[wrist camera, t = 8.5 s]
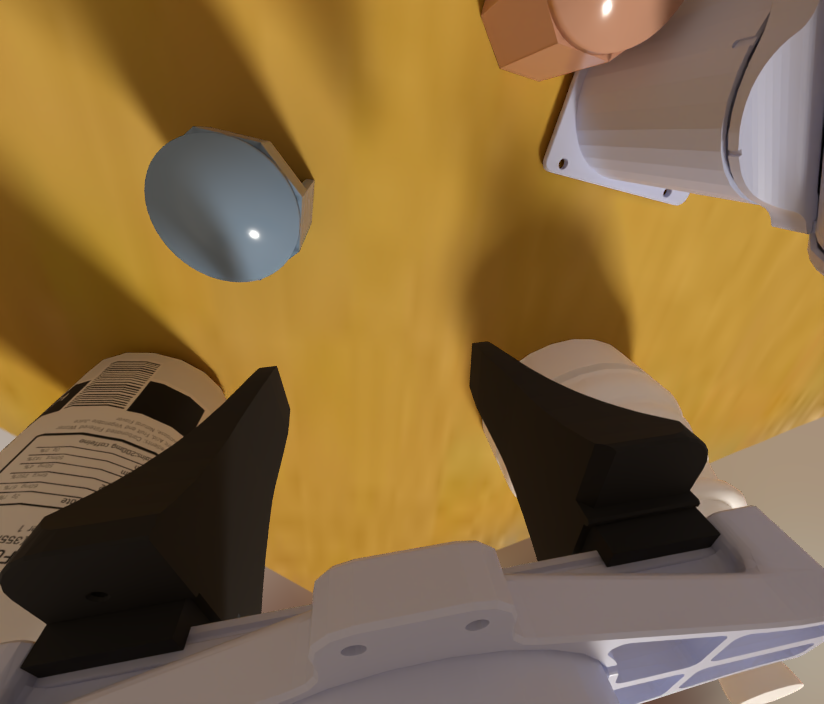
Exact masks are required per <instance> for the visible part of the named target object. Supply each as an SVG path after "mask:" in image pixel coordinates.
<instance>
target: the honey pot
mask: <svg viewBox="0 0 824 704" xmlns="http://www.w3.org/2000/svg"><path fill="white" fill-rule="evenodd" d="M519 362H521V363H523V364H524V365H526V366H528V367H529V368H531V369H533V370H534V371H536V372H538V373H540V374H541V375H543V376H545V377H547V378H549V379H551V380H553V381H555V382H557V383H559V384H561V385H563V386H565V387H568V388H570V389H572V390H574V391H577V392H579V393H582V394H584V395H587V396H589V397H592V398H595V399H598V400H601V401H603V402H606V403H609V404H613V405H616V406H619V407H623V408H626V409H630V410H633V411H637V412H641V413H645V414H649V415H654V416H658V417H663V418H668V419H672V420H677V421H680V422H681V423H682V424H683V425H684V426H685V427H687V428H688V429H689V430H690V431H691V432H692V433H693V431H692V429H691V427H690V425H689V423H688V422H687V420H686V419H685V418H684V417H683V415H682V411H681V409H680V407H679V405H678V403H677V401H676V399H675V398H674V396H673V395H672V394H671V393H670V392H669V391H668V390H666V389H665V388H664V387H663V386H661V385H660V384H659V383H658V382H657V381H655V380H654V379H653V378H652V377H651V376H649V375H648V374H647V373H646V372H644V371H643V370H642V369H641V368H639V367H638V366H637V365H636V364H634V363H633V362H632V361H631V360H630V359H628V358H627V357H626V356H625V355H623V354H622V353H621V352H619V351H618V350H617V349H616V348H614V347H613V346H612V345H610V344H607V343H604V342H600V341H597V340H594V339H572V340H567V341H563V342H559V343H554V344H550V345H548V346H546V347H544V348H542V349H539V350H537V351H535V352H533V353H531V354H529V355H527V356H526V357H525V358H523V359H522V360H520V361H519ZM482 422H483V431H484V433H485V435H486V438H487V440H488V442H489V444H490V446H491V449H492V451H493V453H494V455H495V458H496V460H497V462H498V464H499V466H500V468H501V470H502V473H503V475H504V477H505V480H506V482H507V484H508V486H509V488H510V490H511V491H512V492H513V494H514V495H515V496H516V493H515V490H514V488H513V485H512V482H511V480H510V477H509V474H508V472H507V469H506V466H505V464H504V462H503V459H502V457H501V455H500V453H499V451H498V449H497V447H496V445H495V443H494V441H493V439H492V437H491V435H490V433H489V431H488V429H487V427H486V425H485V423H484V421H483V419H482ZM693 434H694V433H693ZM690 491H691V492H692V493H693V494H694V495H695V496H696V497H697V498H698V499H699V501H700V505H699V506H698V507H696V508H697V509H698V510H699V511H700V512H701V513H702V514H703V515H704V516H705V517H706V518H707V517H708V516H709V515H711V514H713V513H715V512H718V511H723V510H728V509H734V508H739V507H745V506H747V503H746V500H745V498H744V495H743V494H742V493H741V491H739V490H738V489H737V488H735V487H733V486H732V485H730V484H729V483H727V482H725V481H722V480H718V478H717V476H716V475H715V473H714V471H713V469H712V467H711V466H710V464H709V462H708V458H707V462H706V464H705V467H704V469H703V470H702V472H701V474H700V475H699V477H698V478H697V480H696V482H695V483H694V485H693V486H692V488H691V490H690ZM516 497H517V496H516ZM718 680H719V682H720V685H721V687H722V689H723V691H724V693H725V695H726V696H727V698H728V700H729V702H730V703H731V704H765V703H768V702H771V701H774V700H777V699H779V698H782V697H784V696H786V695H789V694H791V693H793V692H795V691H797V690H799V689H801V688H802V687H803V686H804V684H803V683H802V682H801V681H800V680H799V679H798V677H797V676H796V675H795V674H794V673H793V672H792V671H791V670H790V669H789V668H788V667H787V666H786V665H784V663H782V661H780V662H776V663H773V664H769V665H765V666H761V667H758V668H754V669H751V670H747V671H743V672H740V673H736V674H733V675H730V676H727V677H723V678H720V679H718Z"/></svg>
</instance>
